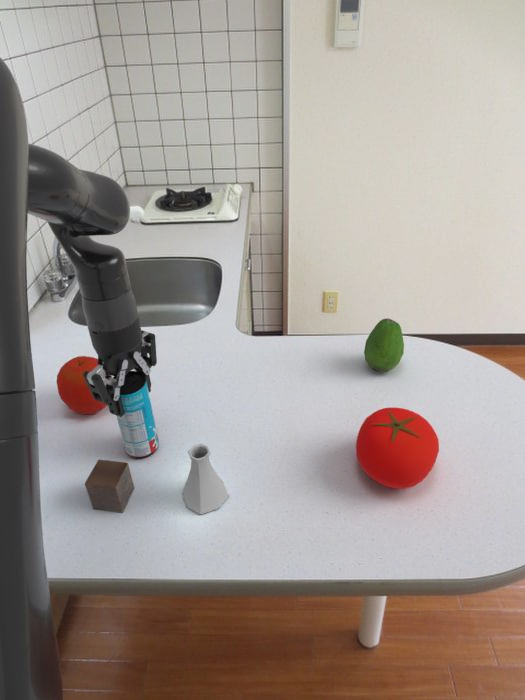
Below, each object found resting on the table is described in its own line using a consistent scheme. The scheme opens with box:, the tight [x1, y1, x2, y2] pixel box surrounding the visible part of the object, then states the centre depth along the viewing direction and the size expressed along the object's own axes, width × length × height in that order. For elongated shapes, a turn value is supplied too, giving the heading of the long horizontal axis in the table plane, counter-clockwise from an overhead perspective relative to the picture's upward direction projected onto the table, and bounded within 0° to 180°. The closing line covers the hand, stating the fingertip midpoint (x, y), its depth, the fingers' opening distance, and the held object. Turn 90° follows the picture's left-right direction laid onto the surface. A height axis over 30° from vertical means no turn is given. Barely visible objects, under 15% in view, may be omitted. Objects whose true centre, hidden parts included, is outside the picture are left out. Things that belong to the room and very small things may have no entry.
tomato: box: [355, 407, 440, 489], centre depth 84 cm, size 14×13×10 cm
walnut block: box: [84, 459, 135, 514], centre depth 83 cm, size 5×5×6 cm
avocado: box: [363, 317, 405, 372], centre depth 107 cm, size 8×8×12 cm
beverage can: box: [111, 370, 159, 459], centre depth 89 cm, size 6×6×15 cm
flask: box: [181, 443, 230, 515], centre depth 81 cm, size 7×7×10 cm
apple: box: [56, 355, 113, 415], centre depth 100 cm, size 10×10×12 cm
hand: (132, 402), depth 87 cm, fingers closed on beverage can, 6 cm apart
